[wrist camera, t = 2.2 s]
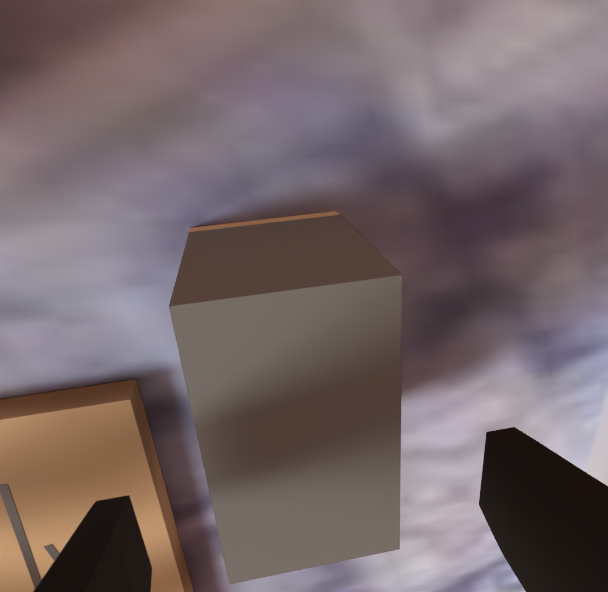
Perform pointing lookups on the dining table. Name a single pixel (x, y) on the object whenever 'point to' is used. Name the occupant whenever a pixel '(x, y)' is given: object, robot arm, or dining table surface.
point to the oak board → (80, 479)
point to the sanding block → (293, 389)
